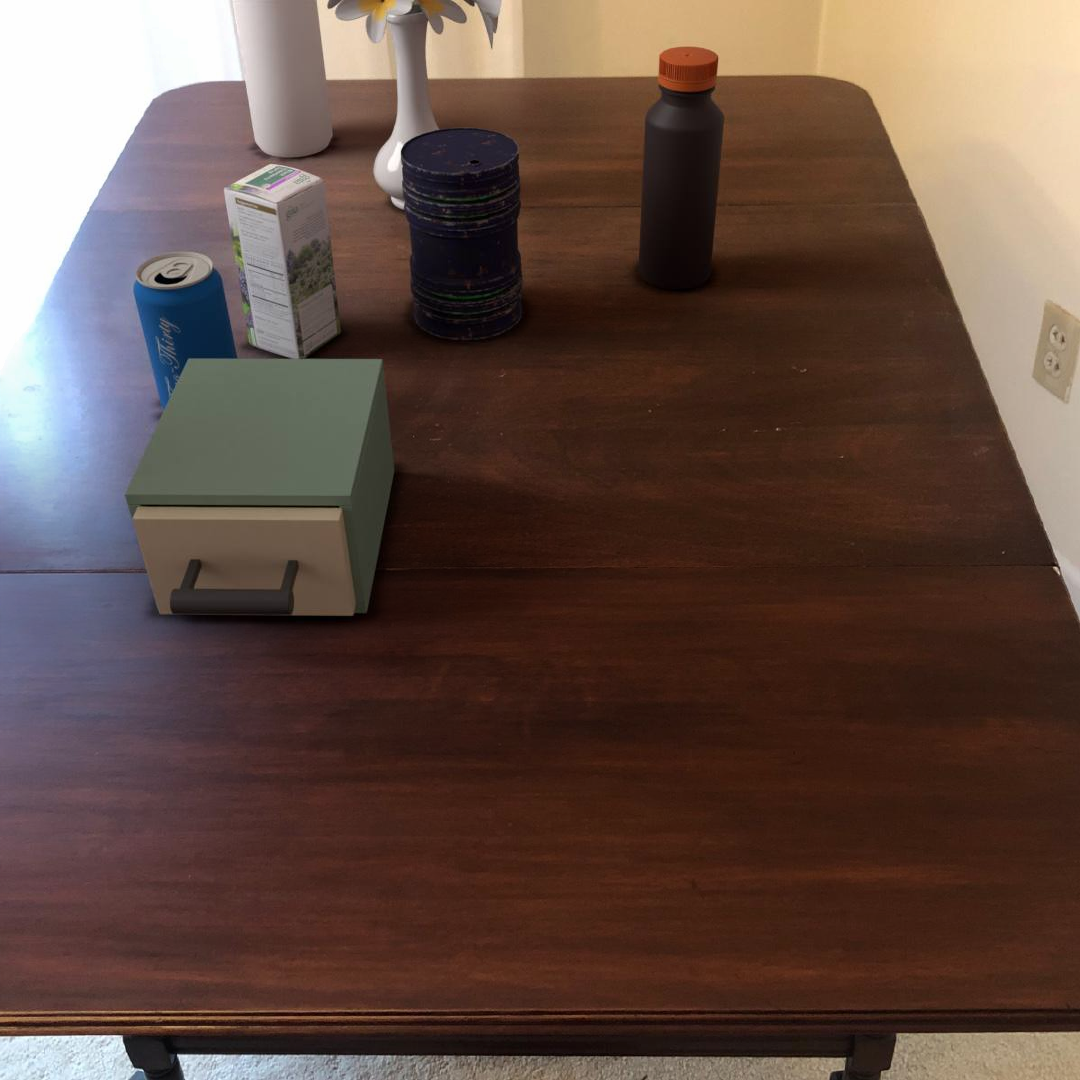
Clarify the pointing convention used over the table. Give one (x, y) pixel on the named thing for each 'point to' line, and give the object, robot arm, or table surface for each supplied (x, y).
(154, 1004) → the table surface
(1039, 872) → the table surface
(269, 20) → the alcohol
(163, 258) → the beverage can
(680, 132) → the bottle
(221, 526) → the drawer
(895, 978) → the table surface
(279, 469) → the cabinet
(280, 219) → the syrup box
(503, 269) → the dark blue cylinder
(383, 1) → the flower vase
